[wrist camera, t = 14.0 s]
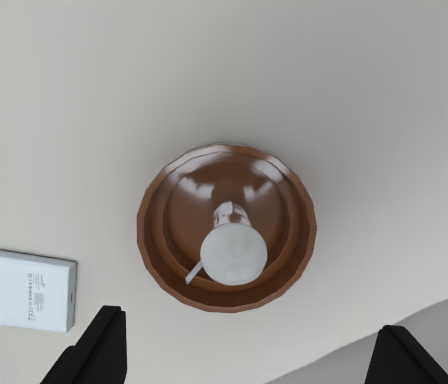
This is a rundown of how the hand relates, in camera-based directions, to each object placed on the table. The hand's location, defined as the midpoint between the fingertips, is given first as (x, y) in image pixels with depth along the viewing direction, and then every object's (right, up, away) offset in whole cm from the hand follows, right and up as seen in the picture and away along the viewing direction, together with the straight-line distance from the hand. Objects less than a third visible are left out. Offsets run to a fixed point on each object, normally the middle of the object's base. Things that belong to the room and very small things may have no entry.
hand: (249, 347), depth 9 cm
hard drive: (-23, -4, +18) cm, 30 cm away
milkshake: (-1, +3, +16) cm, 16 cm away
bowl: (-1, +3, +16) cm, 17 cm away
